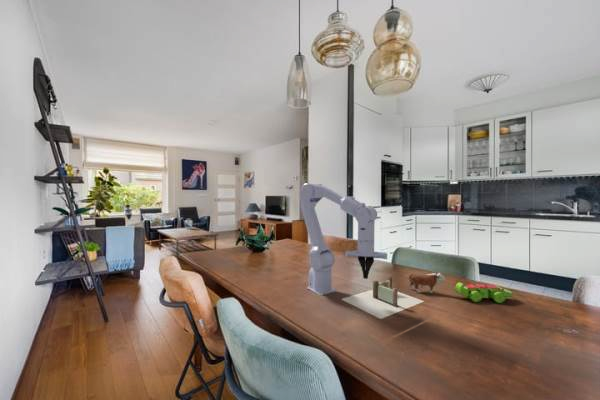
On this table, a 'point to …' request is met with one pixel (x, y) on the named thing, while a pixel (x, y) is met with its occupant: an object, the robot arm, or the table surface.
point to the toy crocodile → (483, 292)
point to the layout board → (381, 303)
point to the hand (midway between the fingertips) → (365, 277)
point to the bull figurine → (425, 280)
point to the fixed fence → (384, 283)
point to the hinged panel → (387, 294)
